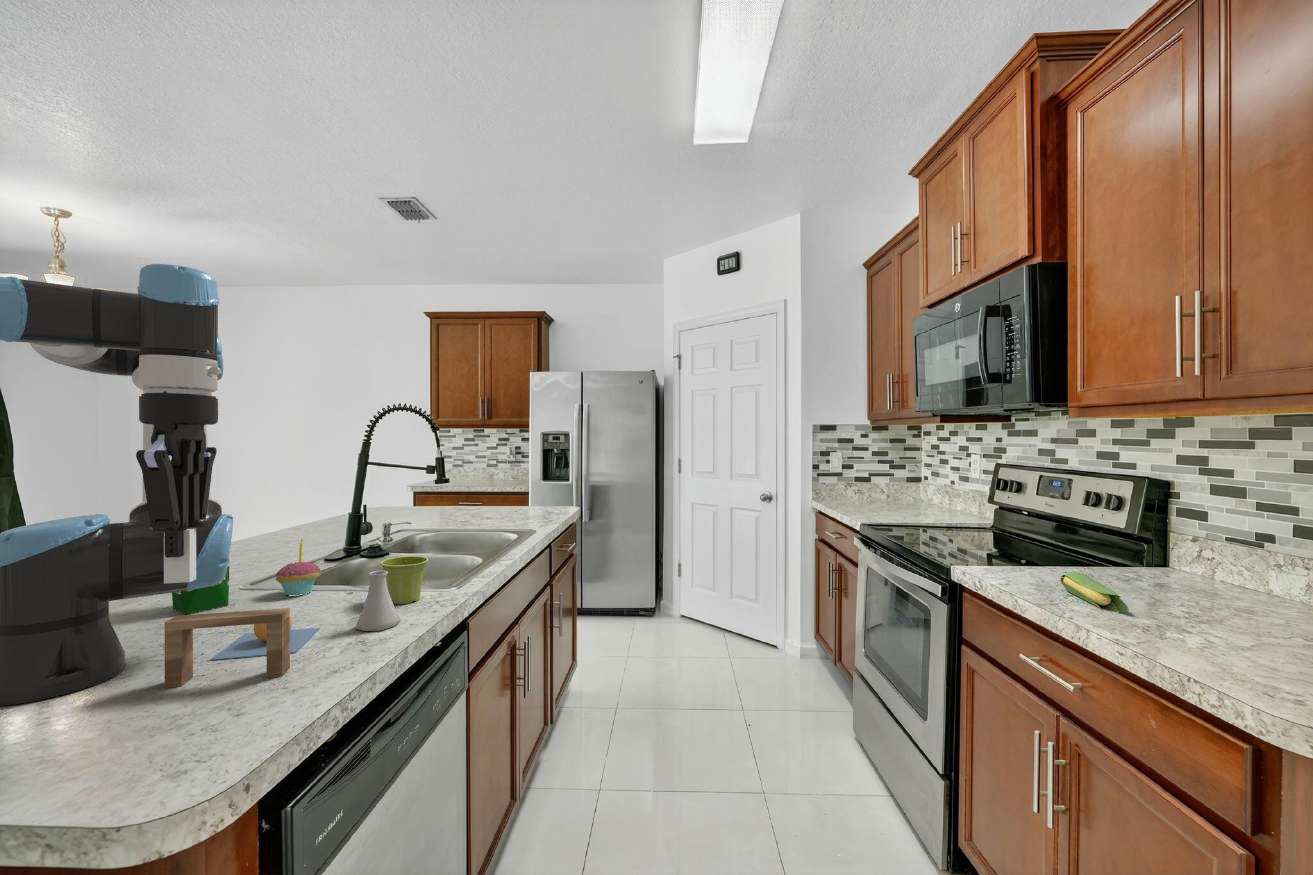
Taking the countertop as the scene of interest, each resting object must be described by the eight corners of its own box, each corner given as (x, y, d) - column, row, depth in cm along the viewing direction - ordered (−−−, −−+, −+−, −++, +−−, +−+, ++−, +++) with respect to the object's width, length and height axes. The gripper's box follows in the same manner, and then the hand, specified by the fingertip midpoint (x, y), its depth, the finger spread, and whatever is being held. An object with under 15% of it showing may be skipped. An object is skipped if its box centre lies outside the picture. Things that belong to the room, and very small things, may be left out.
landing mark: (209, 660, 88) (209, 659, 88) (244, 634, 99) (244, 633, 99) (296, 652, 91) (296, 651, 91) (319, 628, 103) (319, 627, 103)
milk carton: (165, 609, 114) (165, 512, 114) (218, 598, 122) (218, 507, 122) (182, 617, 109) (182, 515, 109) (236, 605, 117) (236, 510, 117)
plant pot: (428, 592, 126) (428, 554, 126) (427, 604, 117) (427, 563, 117) (382, 597, 123) (382, 557, 123) (378, 609, 114) (378, 567, 114)
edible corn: (1082, 571, 128) (1061, 565, 129) (1136, 598, 108) (1110, 591, 109) (1075, 592, 128) (1053, 585, 129) (1127, 623, 109) (1101, 615, 110)
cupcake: (283, 590, 128) (283, 538, 128) (325, 587, 131) (325, 536, 131) (270, 600, 120) (270, 545, 120) (315, 597, 123) (314, 542, 123)
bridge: (282, 676, 82) (282, 613, 82) (164, 687, 78) (164, 622, 78) (289, 667, 85) (289, 607, 85) (176, 678, 81) (176, 615, 81)
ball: (262, 636, 98) (248, 649, 93) (261, 605, 98) (247, 616, 93) (297, 633, 100) (285, 645, 94) (296, 603, 99) (284, 613, 94)
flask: (382, 633, 100) (381, 578, 100) (346, 631, 101) (346, 576, 101) (407, 620, 107) (407, 568, 107) (374, 618, 108) (374, 567, 108)
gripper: (186, 390, 64) (186, 593, 65) (239, 396, 77) (239, 567, 77) (106, 388, 62) (107, 598, 63) (174, 395, 75) (174, 570, 75)
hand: (180, 581), depth 70 cm, fingers closed
